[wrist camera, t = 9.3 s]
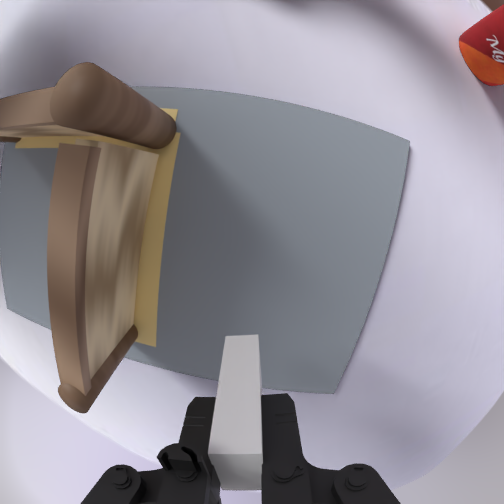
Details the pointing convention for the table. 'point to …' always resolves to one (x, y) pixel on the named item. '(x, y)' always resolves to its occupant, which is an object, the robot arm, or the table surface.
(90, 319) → the fence gate
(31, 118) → the fence fixed
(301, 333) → the card
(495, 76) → the paper cup
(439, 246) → the table surface
